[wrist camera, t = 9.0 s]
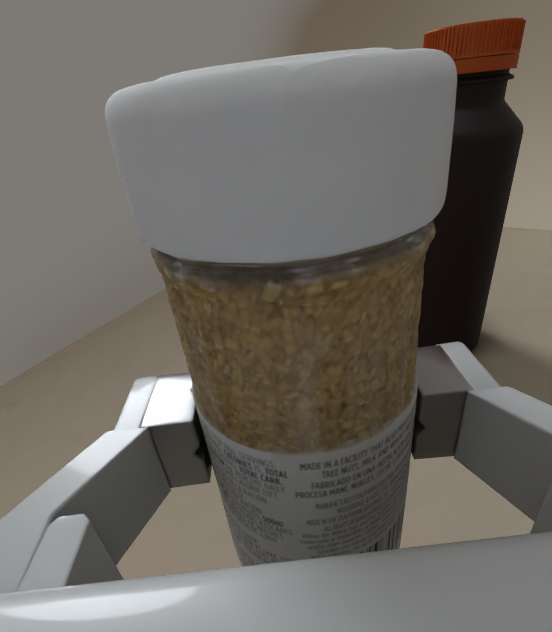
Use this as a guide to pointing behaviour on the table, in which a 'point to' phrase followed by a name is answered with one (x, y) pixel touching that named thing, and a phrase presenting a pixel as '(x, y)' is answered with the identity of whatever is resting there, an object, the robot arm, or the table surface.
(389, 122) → the sprinkles bottle
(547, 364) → the table surface
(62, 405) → the table surface
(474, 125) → the vinegar
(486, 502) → the table surface
